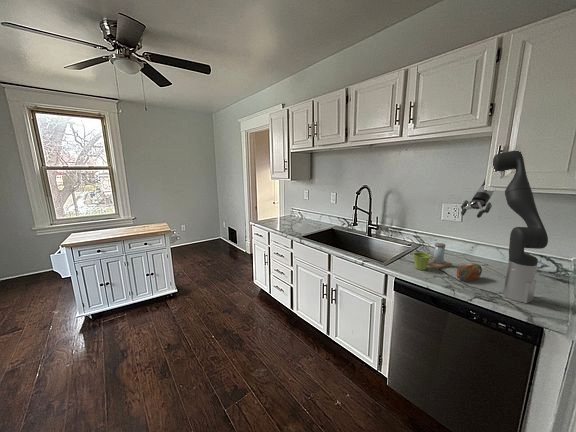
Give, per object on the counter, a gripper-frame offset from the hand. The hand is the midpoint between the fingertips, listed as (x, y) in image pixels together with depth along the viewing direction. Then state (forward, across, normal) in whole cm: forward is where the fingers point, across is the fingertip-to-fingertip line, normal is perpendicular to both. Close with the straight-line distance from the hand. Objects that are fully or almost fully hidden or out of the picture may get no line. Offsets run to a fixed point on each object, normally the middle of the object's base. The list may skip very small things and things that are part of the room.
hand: (469, 215), depth 143 cm
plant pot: (+42, -8, +1) cm, 43 cm away
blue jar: (+31, -7, +10) cm, 34 cm away
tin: (+36, +13, +8) cm, 39 cm away
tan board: (+32, -7, +11) cm, 35 cm away
